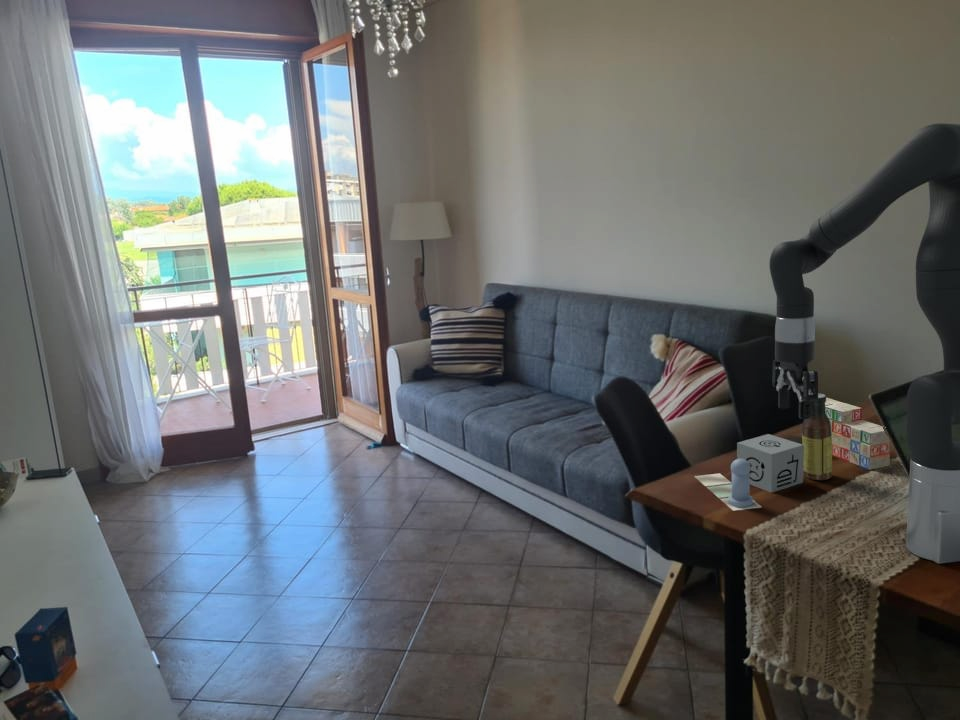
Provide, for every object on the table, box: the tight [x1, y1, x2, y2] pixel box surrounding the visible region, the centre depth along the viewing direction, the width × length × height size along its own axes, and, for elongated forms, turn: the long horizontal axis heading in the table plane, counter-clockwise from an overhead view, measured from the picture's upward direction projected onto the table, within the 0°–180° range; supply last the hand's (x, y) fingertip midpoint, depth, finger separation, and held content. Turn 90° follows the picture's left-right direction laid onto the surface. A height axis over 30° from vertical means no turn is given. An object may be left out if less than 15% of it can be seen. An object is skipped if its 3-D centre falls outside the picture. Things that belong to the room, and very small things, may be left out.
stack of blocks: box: [825, 397, 892, 471], centre depth 178 cm, size 21×6×12 cm, turn 16°
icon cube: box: [736, 433, 804, 493], centre depth 163 cm, size 10×10×10 cm
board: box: [694, 472, 762, 512], centre depth 160 cm, size 21×7×1 cm, turn 6°
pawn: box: [727, 458, 754, 508], centre depth 153 cm, size 5×5×10 cm
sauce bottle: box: [801, 392, 833, 481], centre depth 165 cm, size 7×6×20 cm
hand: (793, 413), depth 150 cm, fingers open, 8 cm apart
